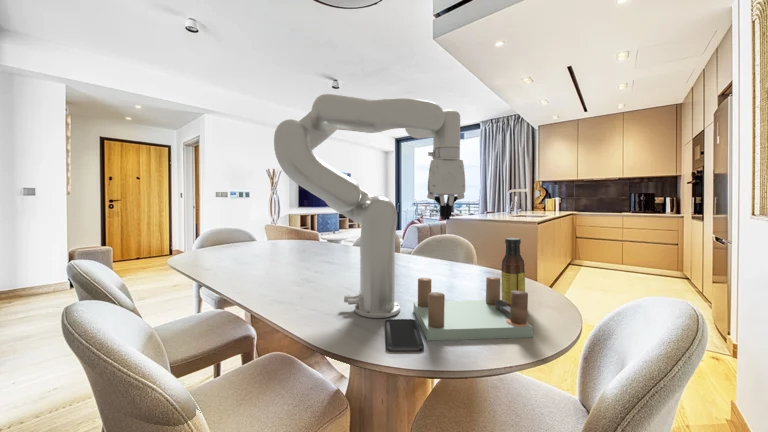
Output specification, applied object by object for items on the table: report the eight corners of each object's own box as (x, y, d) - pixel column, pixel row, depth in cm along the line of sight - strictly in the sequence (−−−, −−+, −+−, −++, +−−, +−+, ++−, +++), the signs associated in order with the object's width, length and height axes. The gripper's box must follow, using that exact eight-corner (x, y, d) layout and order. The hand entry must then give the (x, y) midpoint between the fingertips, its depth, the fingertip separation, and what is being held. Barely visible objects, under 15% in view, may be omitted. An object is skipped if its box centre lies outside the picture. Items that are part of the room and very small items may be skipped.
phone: (386, 348, 62) (385, 319, 77) (386, 353, 62) (385, 323, 77) (425, 348, 62) (416, 318, 77) (425, 353, 63) (416, 323, 78)
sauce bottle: (520, 303, 91) (522, 237, 90) (528, 311, 85) (530, 240, 84) (498, 302, 92) (499, 236, 91) (504, 310, 86) (505, 239, 84)
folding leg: (491, 306, 80) (492, 282, 80) (504, 306, 81) (505, 281, 80) (515, 324, 69) (516, 295, 69) (530, 323, 70) (531, 295, 69)
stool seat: (427, 340, 67) (427, 298, 67) (413, 310, 85) (413, 277, 85) (532, 337, 69) (533, 296, 69) (497, 308, 87) (498, 275, 86)
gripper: (423, 153, 84) (422, 220, 85) (476, 154, 85) (475, 220, 86) (418, 157, 92) (417, 218, 93) (467, 157, 93) (466, 218, 94)
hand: (445, 219), depth 89 cm, fingers closed
